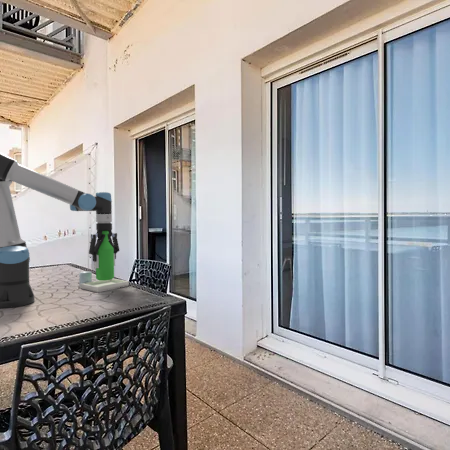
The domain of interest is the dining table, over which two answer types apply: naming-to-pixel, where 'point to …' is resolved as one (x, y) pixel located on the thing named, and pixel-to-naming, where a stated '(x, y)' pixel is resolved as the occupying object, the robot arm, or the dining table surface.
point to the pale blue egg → (85, 277)
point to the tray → (104, 285)
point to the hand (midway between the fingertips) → (104, 266)
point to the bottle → (105, 260)
